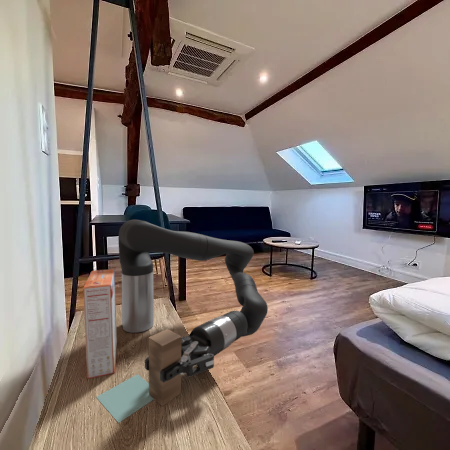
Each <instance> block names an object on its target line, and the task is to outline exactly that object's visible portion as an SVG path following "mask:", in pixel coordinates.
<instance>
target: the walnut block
mask: <svg viewBox="0 0 450 450" xmlns="http://www.w3.org/2000/svg"><path fill="white" fill-rule="evenodd" d="M181 338H182V336H181V335H180V334H178V333H176V332H173V331H172V330H170V329H168V328H167V329H163V330H162V331H159V332H157V333H156V334H153V335H151V336H149V337H148V357H149V370H148V383H149V395H150V396H151V397H152V398H154V400H155V401H156V402H157V403H158V404H159V405H160V406H161V407H164V406H165V405H167V404H168V403H170V402H171V401H172V400H174V399H175V398H177V397H178V396H179V395H181V394H182V374H178V375H177V376H175V377H174V378H172V379H170V380H168V381H165V382H162V381H161V380H160V371H161V370H162V369H164V368H166V367H167V366H169V365H171V364H173V363H174V362H178V360H179V359H180V358H181Z"/></svg>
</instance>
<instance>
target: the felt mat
mask: <svg viewBox="0 0 450 450" xmlns="http://www.w3.org/2000/svg"><path fill="white" fill-rule="evenodd" d="M96 399H97V400H98V402H100V403H101V405H102V406H103V407H104V408H105V409H106V411H107V412H108V413H109V414H110V415H111V416H112V417H113V418H114V420H116V422H117V423H118V424H119V423H121V422H122V421H124V420H125V419H127V418H128V417H130V416H132V415H133V414H135V412H138V411H139V410H141V409H142V408H143V407H145V406H146V405H148V404H149V403H151V402H152V401H154V400H155V399H154V398H152V397H151V396H150V395H149V381H147V380H145V378H143V377H142V376H141V375H139V373H137V374H135V375H134V376H132V377H130V378H128V379H125V380H124V381H122V382H121V383H119V384H117V385H116V386H113V387H111V388H109V389H107V390H106V391H105V392H103V393H100V394H99V395H97V396H96Z"/></svg>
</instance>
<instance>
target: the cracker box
mask: <svg viewBox="0 0 450 450" xmlns="http://www.w3.org/2000/svg"><path fill="white" fill-rule="evenodd" d="M115 273H116V272H115V269H114V268H112V269H111V268H110V269H97V270H95V269H94V270H92V271H91V272H90V274H89V276H88V277H87V280H86V281H85V283H84V285H83V287H82V297H83V312H84V315H83V316H84V317H83V318H84V333H85V334H84V337H85V340H84V341H85V357H86V377H87V379H88V380H89V379H93V378H94V379H95V378H98V377H103V376H108V375H113V374H115V373H116V361H117V359H116V358H117V343H118V338H117V337H118V335H117V333H118V332H117V330H118V329H117V307H116V306H117V304H116V303H117V302H116V300H117V299H116V275H115Z"/></svg>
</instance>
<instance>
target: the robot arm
mask: <svg viewBox="0 0 450 450" xmlns="http://www.w3.org/2000/svg"><path fill="white" fill-rule="evenodd" d="M117 239H118V240H117V241H118V257H119V259H118V260H119V264H120V269H121V325H122V329H123V331H124V332H127V333H142V332H146V331H147V330H150V329H152V328H153V326H154V325H155V321H154V318H155V317H154V313H155V312H154V311H155V310H154V304H155V303H154V300H155V299H154V297H155V296H154V261H153V260H152V258H151V256H150V253H161V254H170V255H173V256H176V257H179V258H183V259H189V260H192V261H193V260H194V261H200V262H202V261H204V262H205V261H209V260H211V259H215V258H218V257H221V256H223V255H225V258H224V262H225V266H226V269H227V270H228V273H229V275H230V278H231V279H232V281H233V284H234V290H235V295H236V299H237V302H238V303H239V305H241V306H242V307H241V308H240V310H231V311H228V312H226V313H224V314H222V315H220V316H217V317H214V318H212V319H210V320H207V321H206V322H204V323H202V324H200V325H197V326H196V327H193V329H191V331H190V332H189V334H188V335H186V336H181V358H180V359H179V360H178V362H174V363H173V364H171V365H169V366H167V367H166V368H164V369H162V370H161V371H160V380H161V381H162V382H165V381H168V380H170V379H172V378H174V377H175V376H177V375H178V374H181V375H183V374H186V377H188V378H190V377H191V378H192V377H193V376H196V375H199V374H201V373H203V372H204V373H205V372H206V371H208V370H211V369H214V367H215V356H217V355H218V354H219V353H221V352H223V351H224V350H226V349H227V348H228V347H230V346H231V345H232V344H233V343H234V342H236V341H237V340H239V339H241V338H243V337H247V336H252V335H254V334H255V333H256V332H257V331H258V330H259V329H260V327H261V325H262V323H263V322H264V320H265V318H266V316H267V314H268V311H269V310H268V309H269V307H268V304H267V302H266V300H265V299H264V298H263V297H262V295H261V294H260V293H259V290H258V288H257V285H256V282H255V280H254V279H253V277H252V276H251V275H250V274H248V273H245V272H244V270H245V268H247V266H248V265H249V263H250V262H251V260H252V258H253V256H254V253H255V252H254V248H252V246H250V245H249V244H248V243H245V242H242V241H238V240H231V239H230V240H227V239H222V238H217V237H213V236H208V235H205V234H202V233H201V234H200V233H196V232H190V231H179V230H171V229H167V228H164V227H162V226H158V225H156V224H153V223H150V222H149V221H145V220H141V219H129V220H126V221H125V222H124V223H123V224H122V225H121V226H120V228H119V230H118V238H117ZM194 367H195V368H194ZM144 369H145V370H146V371H149V356H148V357H146V358H145V360H144Z"/></svg>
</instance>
